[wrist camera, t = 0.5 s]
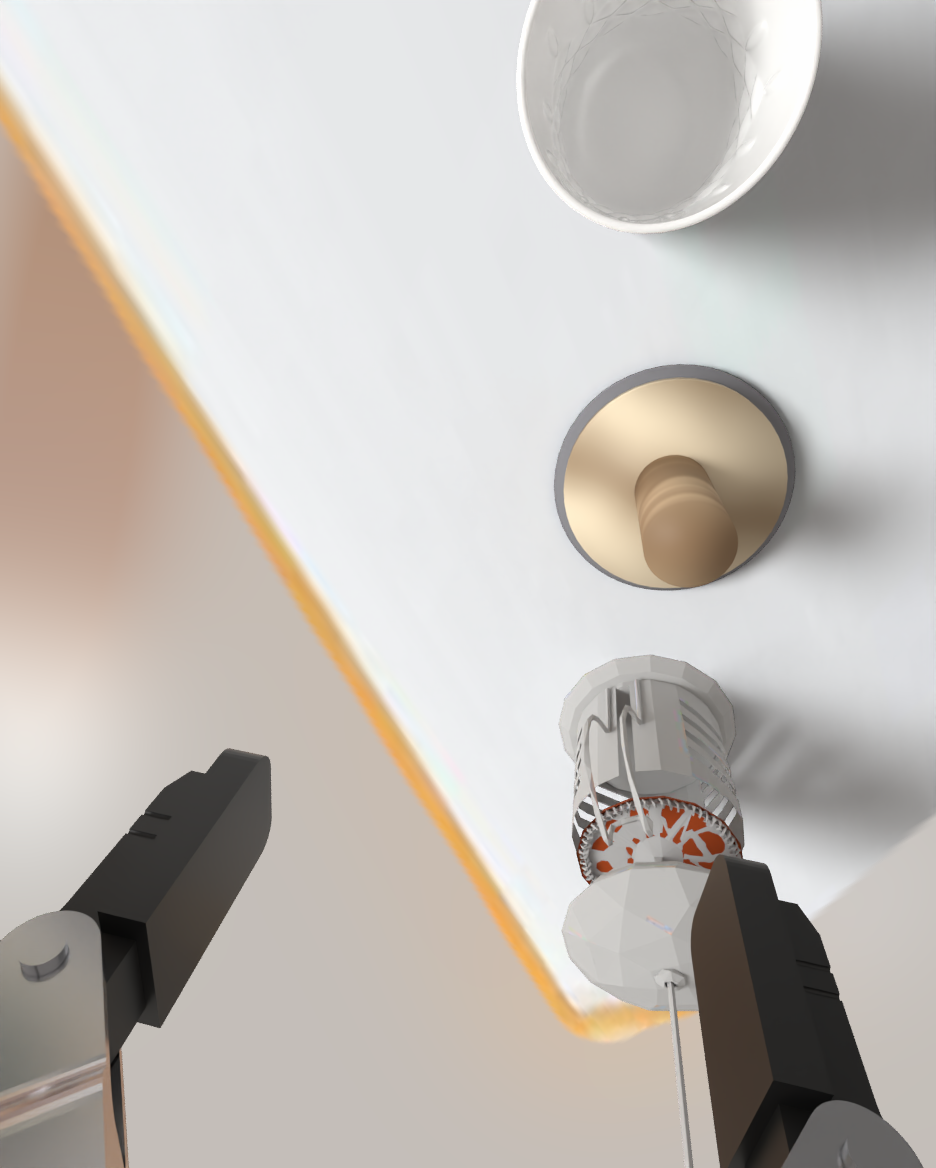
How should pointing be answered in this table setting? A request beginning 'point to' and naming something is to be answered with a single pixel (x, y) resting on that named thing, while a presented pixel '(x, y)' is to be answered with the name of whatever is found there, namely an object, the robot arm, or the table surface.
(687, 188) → the white cup
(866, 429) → the table surface
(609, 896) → the french press
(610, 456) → the lid
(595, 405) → the mat
